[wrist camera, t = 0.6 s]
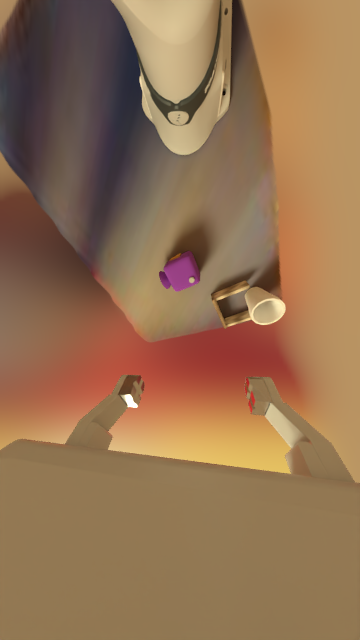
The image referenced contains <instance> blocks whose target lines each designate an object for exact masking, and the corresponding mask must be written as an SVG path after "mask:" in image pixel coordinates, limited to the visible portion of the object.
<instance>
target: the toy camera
mask: <svg viewBox="0 0 360 640" xmlns="http://www.w3.org/2000/svg"><path fill="white" fill-rule="evenodd" d="M159 277H160V280H161V282H162V284H163V286H164V287H165V288H166V289H168V288H169V287H170V285H172V287H173V289H174V290H175V291H181V290H183V289H186V288H188V287H190V286H193V285H195V284H197V283H199V281H200V272H199V269H198V266H197V264H196V261H195V259H194V256H193V254H192V252H191V251H187V252H185V253H183V254H181V253H180V254H178V255H176V256H174V257H173V258H171V259H170V261H168V262H167V264H166V265H165V266H164V272H162V271H160V272H159Z"/></svg>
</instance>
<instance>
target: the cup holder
mask: <svg viewBox="0 0 360 640" xmlns="http://www.w3.org/2000/svg"><path fill="white" fill-rule="evenodd" d="M248 288H250V286H249V284H248V283H247V282H246V281H242V282H240V283H237V284H235V285H233V286H230V287H228V288H225V289H223V290H221V291H218V292H216V293H213V294H211V297H212V302H213V304H214V306H215V309H216V311H217V313H218V315H219V318H220V320H221V322H222V324H223V327H224V328H227V327H228V326H231V325H235V324H238V323H241V322H244V321H247V320H251V317H250V314H249V310H247V311H244V312H241V313H239V314H236V315H233V316H230V317H227V318H224V317H223V315H222V312H221V310H220V308H219V305H218V303H217V301H218V300H220V299H223V298H225V297H228V296H230V295H233V294H235V293H238V292H240V291H243V290H246V289H248Z"/></svg>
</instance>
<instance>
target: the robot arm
mask: <svg viewBox="0 0 360 640" xmlns="http://www.w3.org/2000/svg"><path fill="white" fill-rule="evenodd" d="M111 1H112V2H113V3H114V5H115V6H116V7H117V9H118V10H119V12H120V13H121V15H122V17H123V19H124V20H125V23H126V25H127V27H128V30H129V32H130V34H131V37H132V39H133V42H134V44H135V46H136V51H137V56H138V61H139V65H140V68H141V76H140V85H141V88H142V91H143V92H142V106H143V110H144V112H145V114H146V116H147V117H148V118H149V119H150V120H151V121H152V122H153V123H154V125H155V126H156V128H157V131H158V133H159V135H160V137H161V139H162V141H163V142H164V144H165V145H166V146H167V147H168V148H169V149H170V150H171V151H173V152H174V153H176V154H180V155H188V154H191V153H193V152H195V151H196V150H198V149H199V148H200V147H201V146H202V145H203V144H204V143H205V141H206V140H207V138H208V137H209V135H210V133H211V131H212V129H213V127H214V125H215V124H216V122H217V121H218V120H219V119H220V118H221V117H222V116H223V115H224V114H225V113H226V111H227V110H228V108H229V103H230V73H231V28H232V0H111ZM225 14H226V15H225ZM223 91H225V92H226V94H225V95H224V96H223V95H222V92H223ZM244 387H245V393H246V397H247V398H248V399H249V403H248V405H249V408H250V412H251V414H254V415H265V417H266V418H267V419H268V421H269V422H270V423H271V424H272V426H273V427H274V428H275V429H276V430H277V432H278V433H279V434H280V435H281V436H282V437H283V439H284V440H285V441H286V442H287V444H288V445H289V446H290V447H291V450H290V451H289V452H288V453H287V454H286V455H285V458H286V461H287V463H288V466H289V469H290V472H291V474H287V473H278V472H271V471H264V470H256V469H249V468H241V467H233V466H225V465H217V464H210V463H203V462H195V461H188V460H179V459H172V458H164V457H157V456H149V455H142V454H134V453H126V452H119V451H111V450H108V447H109V445H110V442H111V440H112V435H111V434H110V433H109V432H108V431H109V429H110V428H111V427H112V426H113V425H114V423H115V422H116V421H117V420H118V419H119V418H120V416H121V415H122V414H123V413H124V412H125V410H126V409H127V408H128V407H138V406H139V403H140V400H141V397H140V395H141V394H142V393H143V391H144V381H143V380H141V376H140V375H122V376H121V377H120V379H119V381H118V383H117V385H116V386H115V388H114V390H113V392H112V394H111V395H108V396H107V397H106V398H105V399H104V400H103V401H102V402H100V403H99V404H98V405H97V406H96V407H95V408H93V409H92V410H91V411H90V412H89V413H88V414H86V415H85V416H84V417H83V418H82V419H81V420H80V421H79V422H78V424H77V426H76V427H75V429H74V430H73V432H72V434H71V435H70V437H69V438H68V440H67V442H66V443H65V444H57V443H50V442H42V441H35V440H27V439H18V440H16V441H14V442H12V443H10V444H9V445H7V446H6V447H4V448H3V449H1V450H0V640H360V483H355V481H354V480H353V478H352V476H351V475H350V473H349V472H348V470H347V468H346V467H345V465H344V464H343V462H342V460H341V458H340V457H339V455H338V453H337V452H336V450H335V448H334V447H333V445H332V444H331V443H330V442H329V441H328V440H327V439H326V438H325V437H324V436H322V435H321V434H320V433H319V432H318V431H317V430H316V429H315V428H313V427H312V426H311V425H310V424H309V423H308V422H307V421H306V420H304V419H303V418H302V417H301V416H300V415H299V414H298V413H296V412H295V411H294V410H293V409H292V408H291V407H290V406H289V405H287V404H286V403H283V401H282V399H281V397H280V395H279V393H278V391H277V389H276V387H275V385H274V383H273V381H272V379H271V378H270V377H246V383H245V386H244Z"/></svg>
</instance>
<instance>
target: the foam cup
mask: <svg viewBox="0 0 360 640" xmlns="http://www.w3.org/2000/svg"><path fill="white" fill-rule="evenodd" d="M245 299H246V302H247V306H248V309H249V314H250V317H251V319H252V320H253V321H254V322H255V323H257V324H261V325H266V324H271V323H273V322H276V321H277V320H279V319H280V318H281V317H282V316H283V314H284V312H285V304H284V303H283V302H282V301H281V300H280V299H279V298H278V297H277V296H274V295H272V294H270V293H268V292H267V291H265V290H263V289H261V288H259V287H252V288H250V289H249V290H248V291H247V292H246V294H245Z"/></svg>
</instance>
